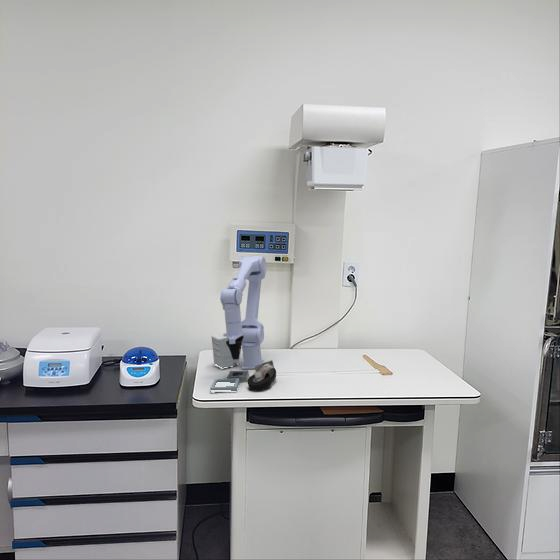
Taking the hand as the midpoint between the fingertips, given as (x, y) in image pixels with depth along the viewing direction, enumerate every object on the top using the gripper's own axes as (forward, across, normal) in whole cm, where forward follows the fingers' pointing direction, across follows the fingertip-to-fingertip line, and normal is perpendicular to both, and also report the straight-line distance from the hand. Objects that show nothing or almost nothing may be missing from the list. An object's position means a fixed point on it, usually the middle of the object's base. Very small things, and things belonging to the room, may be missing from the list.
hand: (236, 357), depth 183 cm
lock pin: (+3, 0, 0) cm, 3 cm away
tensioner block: (+8, 0, 0) cm, 8 cm away
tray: (+8, +9, -4) cm, 12 cm away
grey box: (+8, -16, -7) cm, 20 cm away
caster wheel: (+8, +8, +10) cm, 16 cm away
